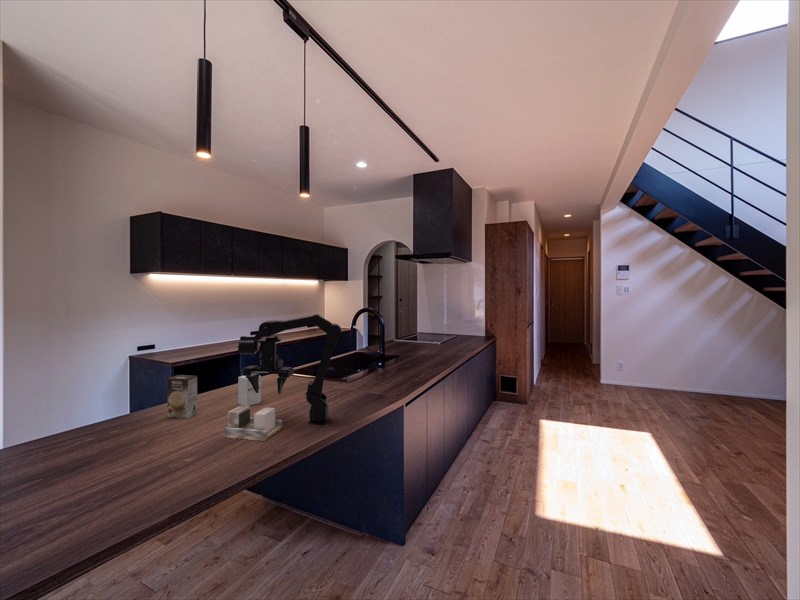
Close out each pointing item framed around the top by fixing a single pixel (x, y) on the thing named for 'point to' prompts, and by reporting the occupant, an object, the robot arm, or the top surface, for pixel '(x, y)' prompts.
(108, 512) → the top surface
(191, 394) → the coffee box
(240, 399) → the supplement box
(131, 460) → the top surface
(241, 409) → the beige clamp block
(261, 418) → the block
